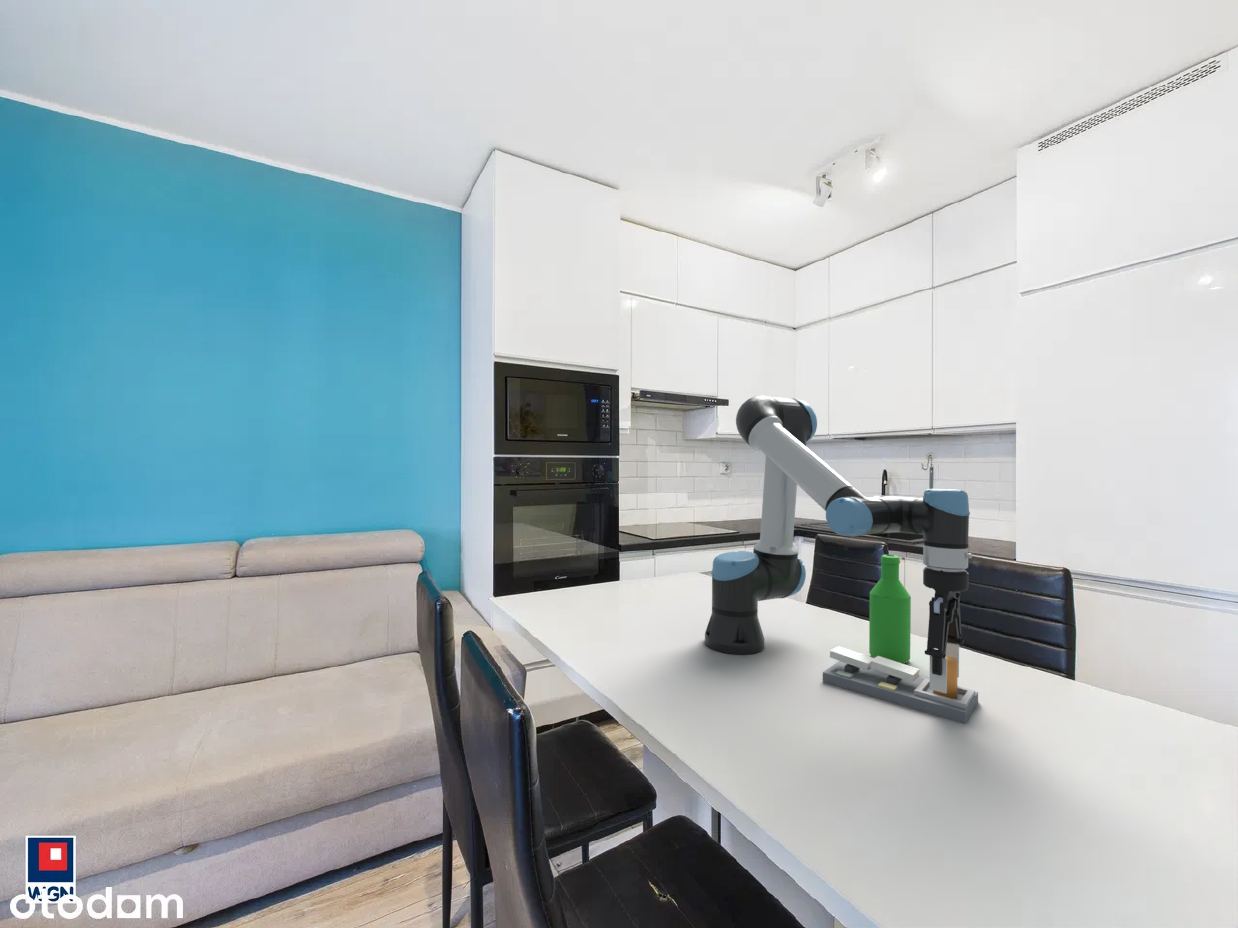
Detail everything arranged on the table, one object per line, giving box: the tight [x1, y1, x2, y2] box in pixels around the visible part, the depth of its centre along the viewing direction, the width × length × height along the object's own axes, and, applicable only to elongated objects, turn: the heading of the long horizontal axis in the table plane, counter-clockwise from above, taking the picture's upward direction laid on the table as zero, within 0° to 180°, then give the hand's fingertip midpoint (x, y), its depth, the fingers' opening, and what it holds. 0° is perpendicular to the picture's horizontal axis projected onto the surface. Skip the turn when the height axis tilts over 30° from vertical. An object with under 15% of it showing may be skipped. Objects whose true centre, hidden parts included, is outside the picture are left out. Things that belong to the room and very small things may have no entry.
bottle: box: [868, 554, 912, 664], centre depth 126 cm, size 9×9×25 cm
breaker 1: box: [829, 645, 874, 671], centre depth 114 cm, size 8×4×2 cm, turn 46°
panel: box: [822, 660, 979, 724], centre depth 108 cm, size 26×12×3 cm, turn 46°
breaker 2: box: [870, 656, 920, 682], centre depth 108 cm, size 8×4×2 cm, turn 46°
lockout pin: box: [933, 656, 958, 699], centre depth 102 cm, size 4×4×7 cm
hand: (944, 682), depth 102 cm, fingers open, 9 cm apart
